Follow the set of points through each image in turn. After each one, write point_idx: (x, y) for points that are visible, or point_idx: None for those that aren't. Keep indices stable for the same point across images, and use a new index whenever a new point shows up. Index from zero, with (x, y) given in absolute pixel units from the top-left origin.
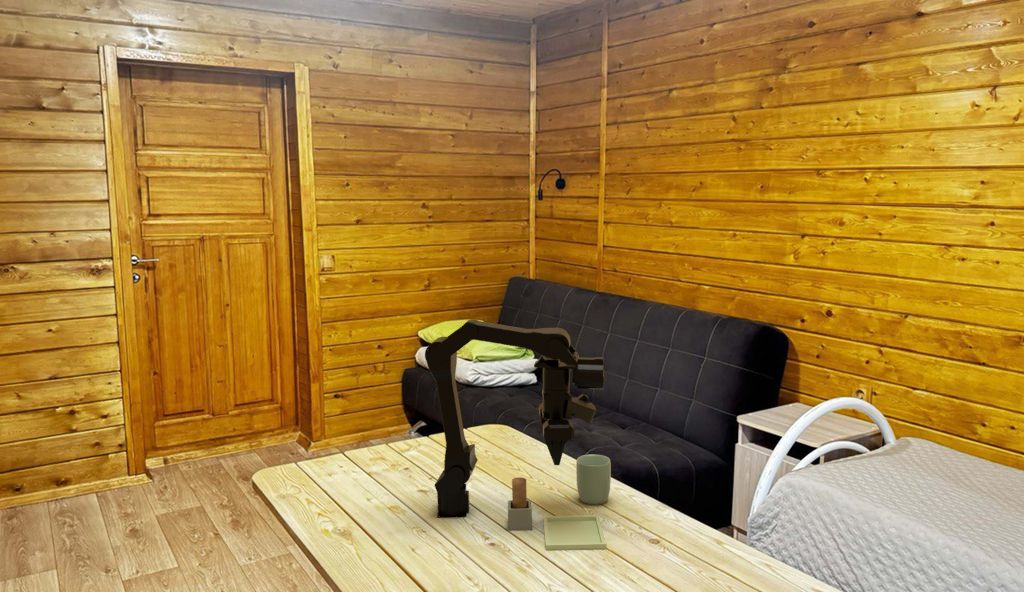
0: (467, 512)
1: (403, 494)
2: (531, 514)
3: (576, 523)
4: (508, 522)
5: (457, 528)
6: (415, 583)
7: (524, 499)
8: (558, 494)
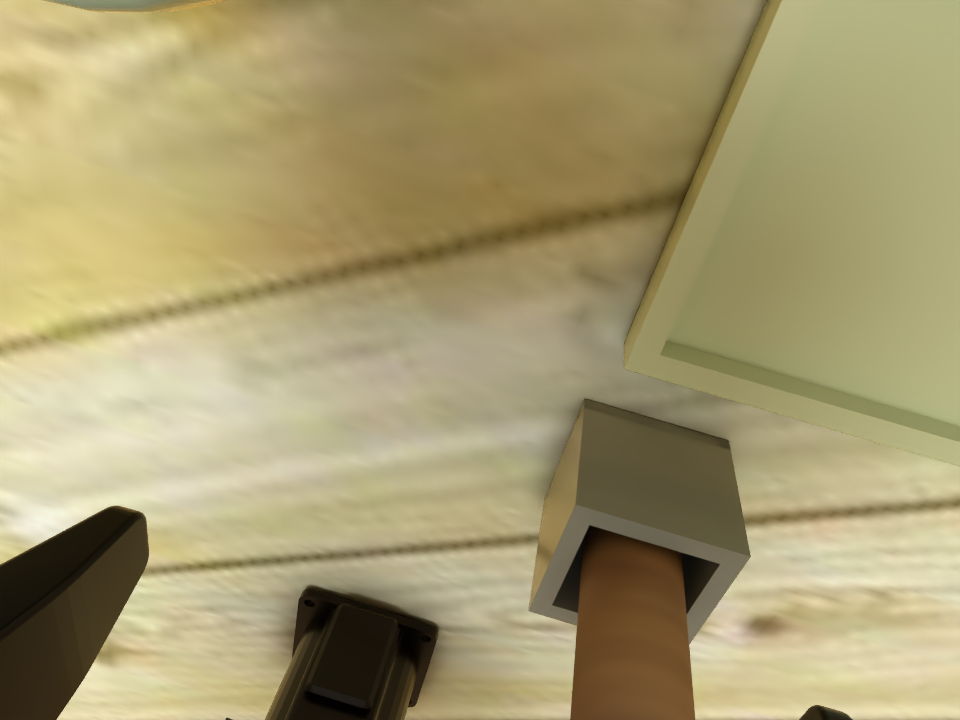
0: (396, 622)
1: (146, 704)
2: (743, 528)
3: (795, 150)
4: None
5: (529, 671)
6: None
7: (685, 623)
8: (139, 68)
